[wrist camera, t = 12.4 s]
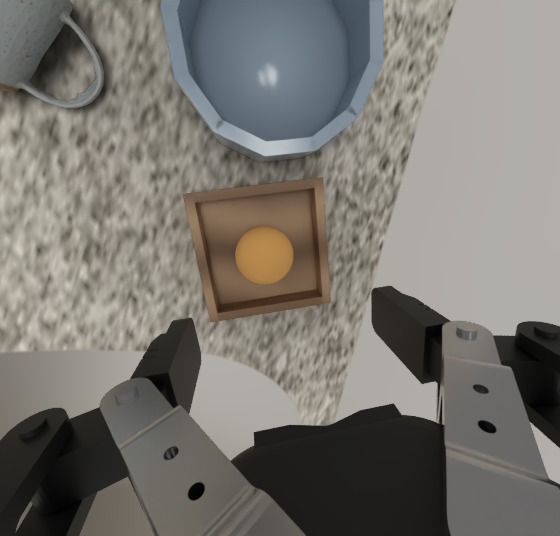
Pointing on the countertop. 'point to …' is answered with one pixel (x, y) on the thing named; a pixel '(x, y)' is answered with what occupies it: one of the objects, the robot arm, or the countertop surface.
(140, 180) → the countertop surface
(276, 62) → the faceted grey bowl
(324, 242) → the tray
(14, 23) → the ceramic mug
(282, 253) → the ball
